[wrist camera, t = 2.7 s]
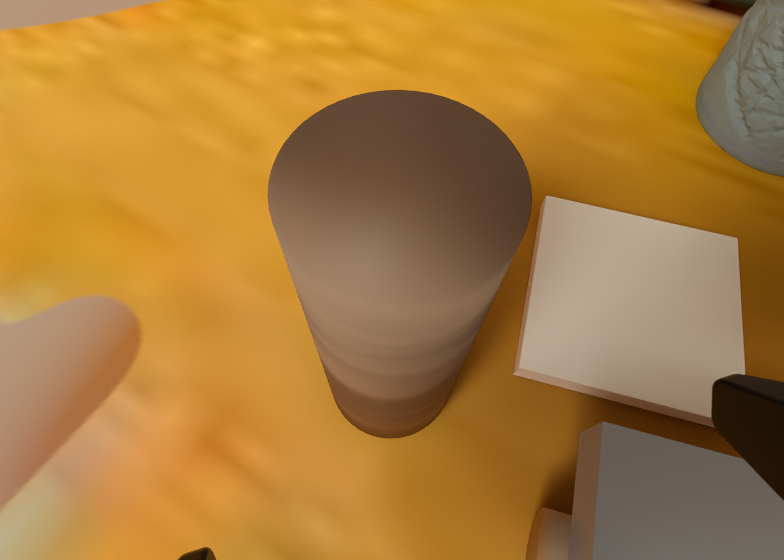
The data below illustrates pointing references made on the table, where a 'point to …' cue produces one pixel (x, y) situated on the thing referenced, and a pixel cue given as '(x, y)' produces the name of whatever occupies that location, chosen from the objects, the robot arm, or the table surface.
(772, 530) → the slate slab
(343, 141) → the walnut roller
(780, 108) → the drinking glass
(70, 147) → the table surface
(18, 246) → the table surface
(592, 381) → the pad
